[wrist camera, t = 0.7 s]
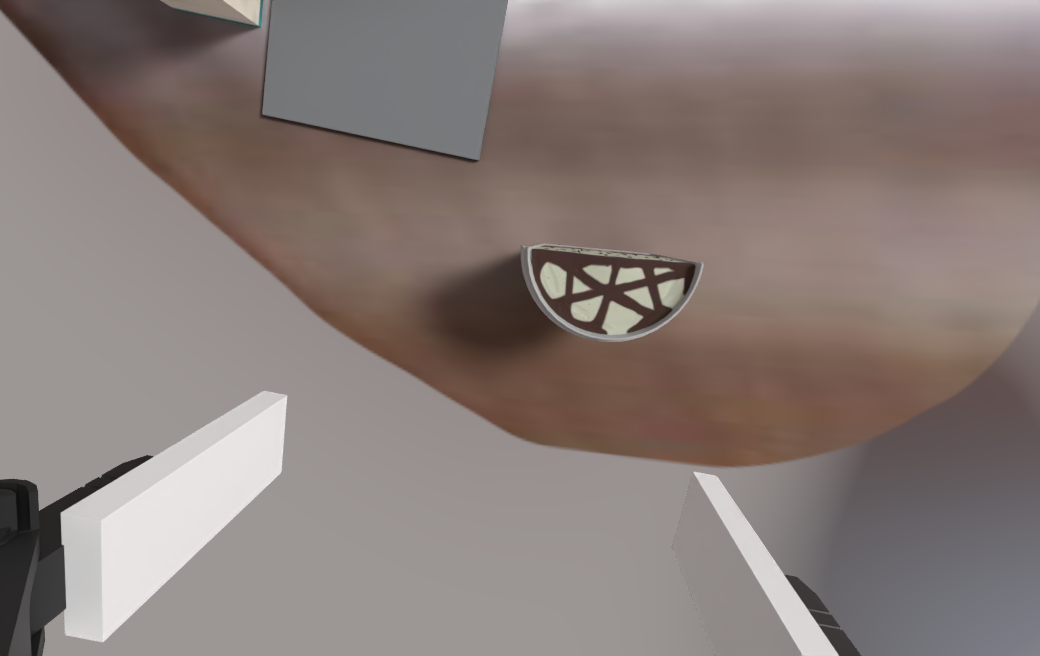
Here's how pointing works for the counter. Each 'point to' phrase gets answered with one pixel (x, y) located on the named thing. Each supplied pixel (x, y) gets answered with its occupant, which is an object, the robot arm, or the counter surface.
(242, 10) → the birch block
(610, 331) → the food container
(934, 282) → the counter surface
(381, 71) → the mat
